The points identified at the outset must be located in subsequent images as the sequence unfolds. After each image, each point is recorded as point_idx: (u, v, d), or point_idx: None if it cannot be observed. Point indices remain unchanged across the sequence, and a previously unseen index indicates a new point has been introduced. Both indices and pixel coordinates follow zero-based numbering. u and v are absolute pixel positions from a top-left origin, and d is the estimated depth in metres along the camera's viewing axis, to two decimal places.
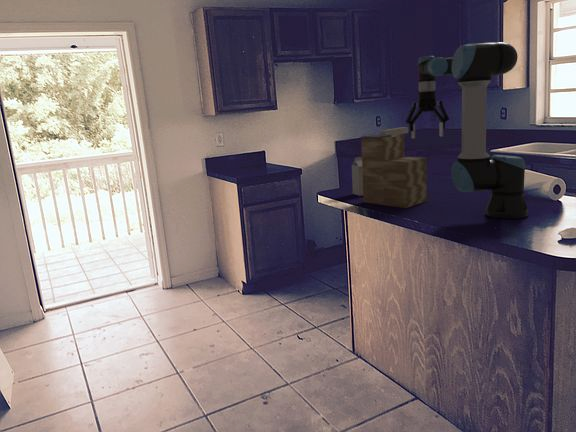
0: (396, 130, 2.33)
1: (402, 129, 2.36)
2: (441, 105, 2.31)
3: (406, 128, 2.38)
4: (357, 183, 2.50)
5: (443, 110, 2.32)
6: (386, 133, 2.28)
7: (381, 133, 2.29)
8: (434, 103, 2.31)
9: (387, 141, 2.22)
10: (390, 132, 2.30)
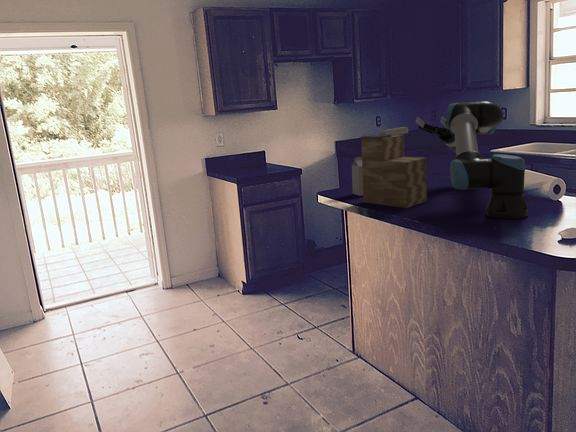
0: (396, 130, 2.33)
1: (402, 129, 2.36)
2: None
3: (406, 128, 2.38)
4: (357, 183, 2.50)
5: None
6: (386, 133, 2.28)
7: (381, 133, 2.29)
8: None
9: (387, 141, 2.22)
10: (390, 132, 2.30)
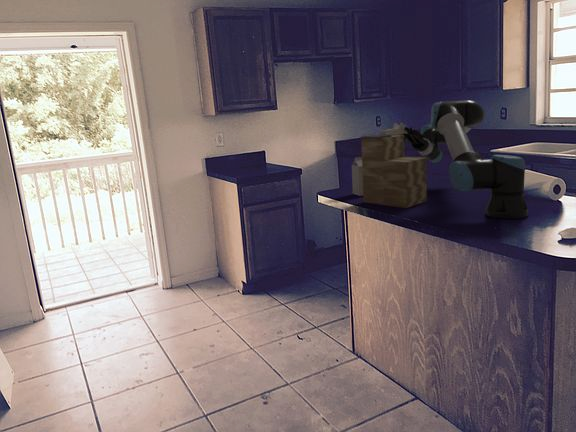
0: (396, 130, 2.33)
1: None
2: None
3: None
4: (357, 183, 2.50)
5: None
6: (386, 133, 2.28)
7: (381, 133, 2.29)
8: None
9: (387, 141, 2.22)
10: (390, 132, 2.30)
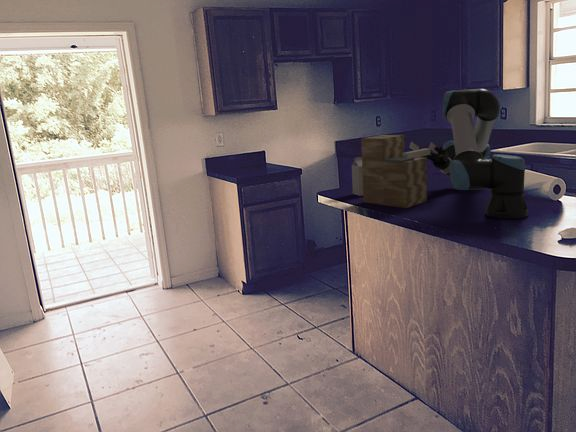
0: (418, 152, 2.26)
1: (424, 151, 2.29)
2: None
3: (428, 150, 2.31)
4: (357, 183, 2.50)
5: None
6: (409, 156, 2.22)
7: (403, 156, 2.23)
8: None
9: (387, 141, 2.22)
10: (412, 154, 2.24)
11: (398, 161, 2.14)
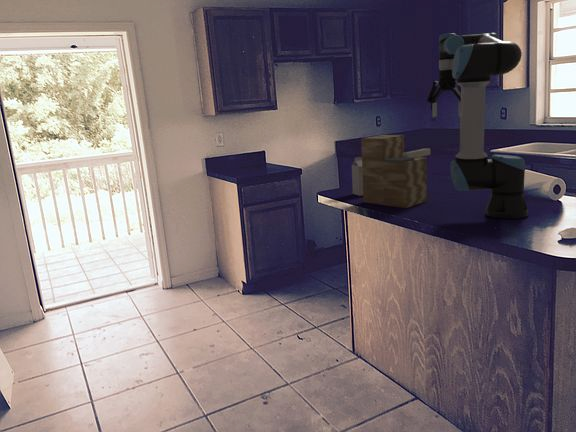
0: (418, 152, 2.26)
1: (424, 151, 2.29)
2: None
3: (428, 150, 2.31)
4: (357, 183, 2.50)
5: (460, 89, 2.24)
6: (409, 156, 2.22)
7: (403, 156, 2.23)
8: (452, 82, 2.26)
9: (387, 141, 2.22)
10: (412, 154, 2.24)
11: (398, 161, 2.14)
